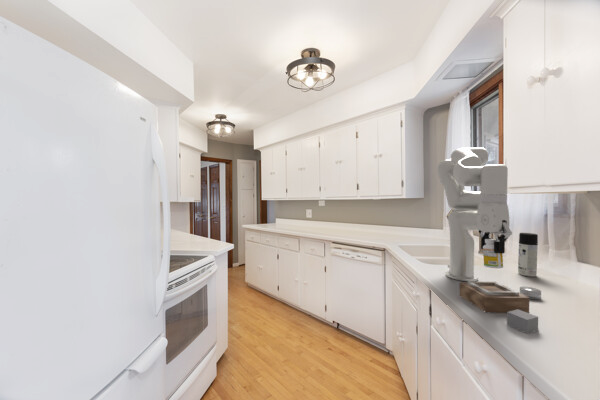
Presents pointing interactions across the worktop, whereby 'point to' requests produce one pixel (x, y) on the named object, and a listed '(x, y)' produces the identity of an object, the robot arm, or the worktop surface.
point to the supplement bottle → (491, 255)
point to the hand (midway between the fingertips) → (492, 250)
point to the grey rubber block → (522, 321)
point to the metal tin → (531, 293)
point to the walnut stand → (493, 297)
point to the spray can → (528, 254)
